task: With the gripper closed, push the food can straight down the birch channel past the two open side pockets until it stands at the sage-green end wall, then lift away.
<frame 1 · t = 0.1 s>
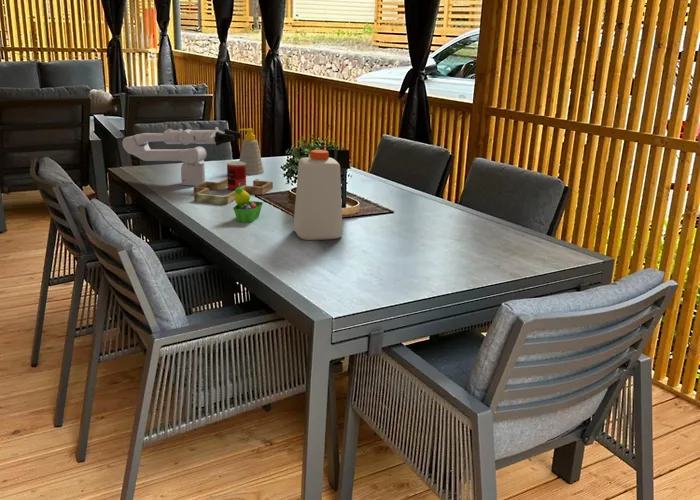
hand: (237, 136, 273), 22 cm above the table, tool horizontal, fingers open, 7 cm apart
soap bottle: (250, 172, 311), on the table
fruit basket: (246, 219, 237), on the table
plastic bottle: (317, 234, 223), on the table
canned food: (236, 189, 279), on the table
trap channel: (228, 193, 271), on the table
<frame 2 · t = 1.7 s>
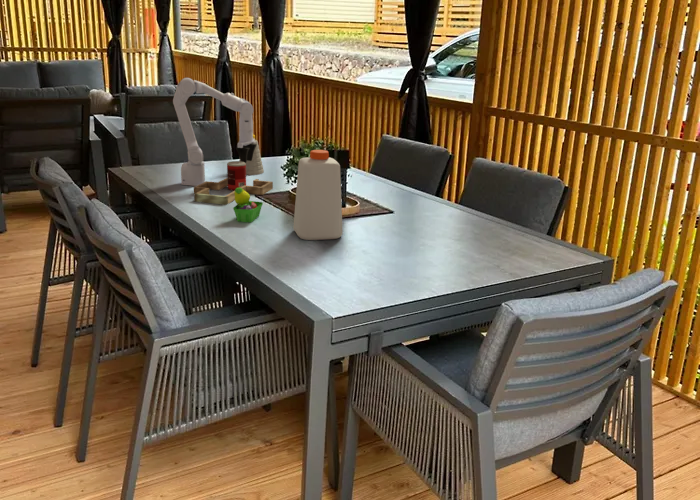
hand: (246, 161, 286), 9 cm above the table, tool pointing down, fingers open, 6 cm apart
nothing on the table moved.
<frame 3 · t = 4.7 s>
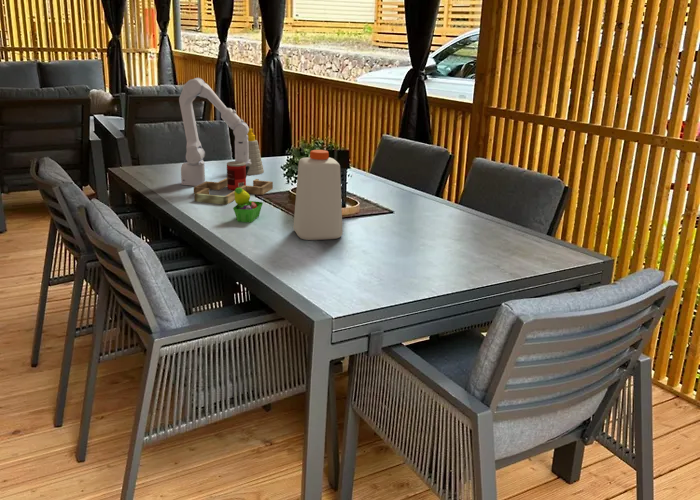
hand: (242, 183, 284), 1 cm above the table, tool pointing down, fingers closed
canned food: (236, 189, 279), on the table, touching gripper
everything else where it was.
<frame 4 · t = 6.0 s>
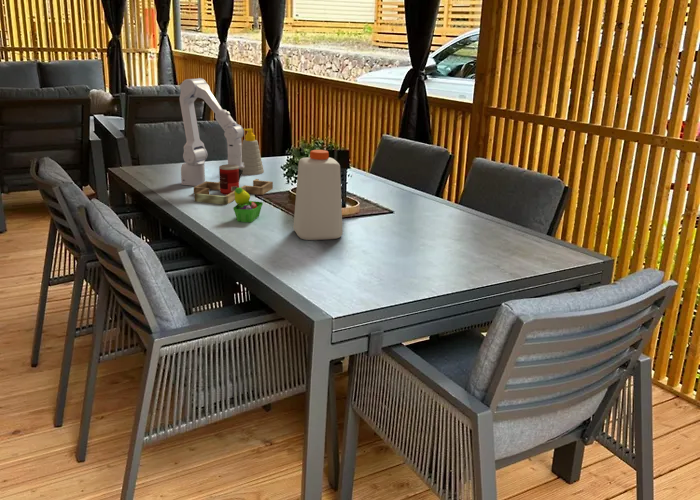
hand: (235, 187, 277), 1 cm above the table, tool pointing down, fingers closed
canned food: (229, 193, 272), on the table, touching gripper
everything else where it was.
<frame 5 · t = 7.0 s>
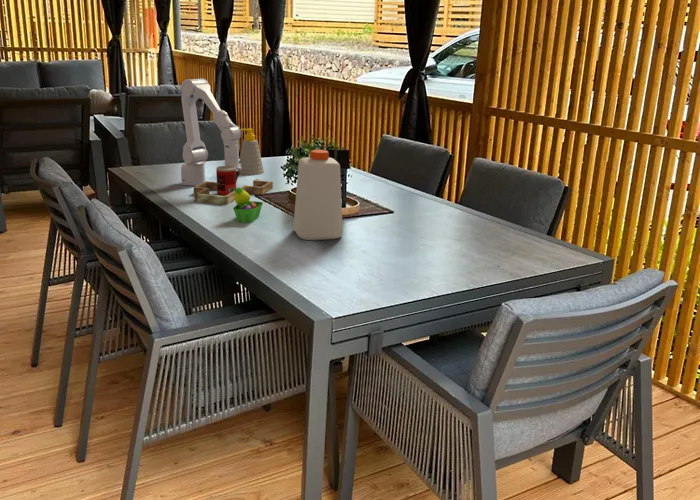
hand: (232, 188, 274), 1 cm above the table, tool pointing down, fingers closed
canned food: (226, 194, 269), on the table, touching gripper
everything else where it was.
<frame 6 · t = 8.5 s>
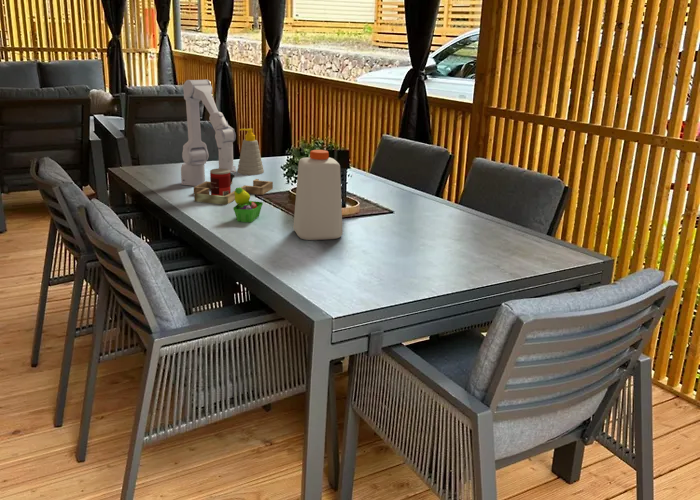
hand: (226, 191, 269), 1 cm above the table, tool pointing down, fingers closed
canned food: (221, 198, 264), on the table, touching gripper
everything else where it was.
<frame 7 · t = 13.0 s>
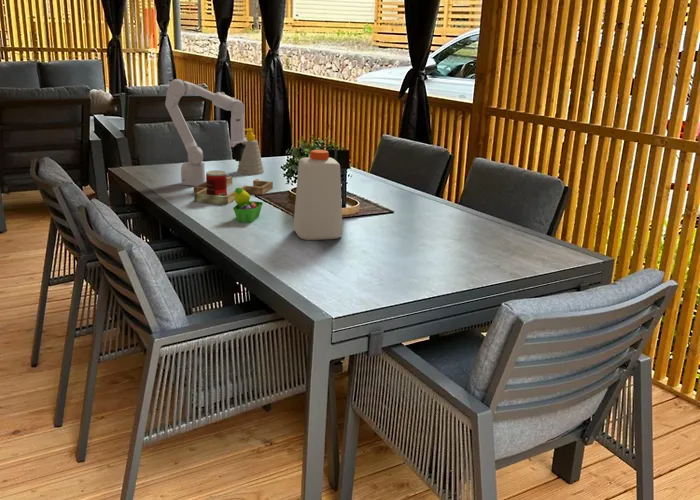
hand: (238, 161, 285), 10 cm above the table, tool pointing down, fingers closed
canned food: (216, 200, 260), on the table
everything else where it was.
at the end: canned food inside the target area (0.8 cm from its centre), on the table; canned food tilted 0°; canned food touching table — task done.
